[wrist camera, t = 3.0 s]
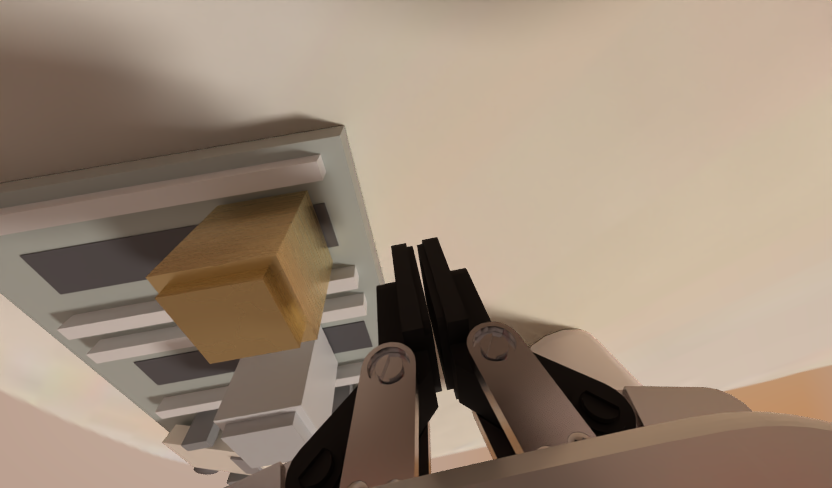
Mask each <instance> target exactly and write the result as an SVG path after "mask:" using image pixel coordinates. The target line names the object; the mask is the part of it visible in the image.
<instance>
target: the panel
mask: <svg viewBox="0 0 832 488" xmlns="http://www.w3.org/2000/svg"><path fill="white" fill-rule="evenodd" d="M306 190H307V191H308V194H309V196H310V199H311V202H312V205H313V208H314V210H315V213H316V216H317V219H318V221H319V224H320V227H321V230H322V232H323V235H324V238H325V241H326V243H327V246H328V249H329V252H330V254H331V257H332V260H333V265H332V270H331V275H330V280H329V284H328V289H327V294H326V299H325V304H324V309H323V314H322V319H321V324H320V325H321V327H322V329H323V331H324V334H325V336H326V338H327V340H328V342H329V344H330V347H331V349H332V351H333V353H334V355H335V358H336V360H337V362H338V366H337V374H336V382H335V390H334V398H333V407H332V413H333V412H334V411H335V410H336V409H337V408H338V407H339V406H340V405H341V403H342V402H343V401H344V400H345V399H346V398H347V397H348V396H349V395H350V393H351V392H352V391H353V390H354V389H355V388H356V387H357V386H358V383H359V378H360V372H361V367H362V364H363V361H364V359H365V357H366V356H367V355H368V353H369V352H370V351H372V350H373V349H374V348H375V347H377V346H378V322H377V297H376V286H377V285H382V284H385V282H384V278H383V274H382V271H381V267H380V263H379V259H378V255H377V251H376V247H375V243H374V239H373V235H372V231H371V228H370V224H369V220H368V216H367V212H366V208H365V204H364V200H363V196H362V192H361V189H360V185H359V181H358V177H357V173H356V169H355V165H354V161H353V157H352V153H351V150H350V146H349V142H348V138H347V134H346V130H345V126H344V125H343V126H337V127H331V128H325V129H319V130H313V131H307V132H301V133H295V134H289V135H283V136H278V137H272V138H266V139H260V140H254V141H248V142H242V143H236V144H230V145H224V146H218V147H212V148H206V149H201V150H195V151H189V152H183V153H177V154H171V155H165V156H159V157H153V158H147V159H141V160H135V161H129V162H124V163H118V164H112V165H106V166H100V167H94V168H88V169H82V170H76V171H70V172H64V173H58V174H52V175H47V176H41V177H35V178H29V179H23V180H17V181H11V182H5V183H0V293H1V294H2V295H3V296H5V297H6V298H7V299H8V300H9V301H11V302H12V303H13V304H14V305H15V306H17V307H18V308H19V309H20V310H22V311H23V312H24V313H25V314H26V315H28V316H29V317H30V318H31V319H32V320H34V321H35V322H36V323H37V324H39V325H40V326H41V327H42V328H43V329H45V330H46V331H47V332H48V333H49V334H51V335H52V336H53V337H54V338H56V339H57V340H58V341H59V342H60V343H62V344H63V345H64V346H65V347H66V348H68V349H69V350H70V351H71V352H73V353H74V354H75V355H76V356H77V357H79V358H80V359H81V360H82V361H83V362H85V363H86V364H87V365H88V366H90V367H91V368H92V369H93V370H94V371H96V372H97V373H98V374H99V375H101V376H102V377H103V378H104V379H105V380H107V381H108V382H109V383H110V384H111V385H113V386H114V387H115V388H116V389H118V390H119V391H120V392H121V393H122V394H124V395H125V396H126V397H127V398H128V399H130V400H131V401H132V402H133V403H135V404H136V405H137V406H138V407H139V408H141V409H142V410H143V411H144V412H145V413H147V414H148V415H149V416H150V417H152V418H153V419H154V420H155V421H156V422H158V423H159V424H160V425H161V426H162V427H164V428H165V429H166V430H167V431H169V432H171V430H172V429H173V428H174V426H175V425H176V424H177V425H186V426H190V428H189V430H188V432H187V434H186V436H185V438H184V440H183V442H182V444H181V446H182V447H183V448H184V449H185V450H187V451H192V450H198V449H203V448H209V447H213V445H214V442H215V440H216V437H217V435H218V432H219V430H220V428H219V427H218V426H217V425H216V424H215V423H214V422H213V420H214V418H215V415H216V413H217V411H218V409H219V406H220V404H221V402H222V399H223V397H224V395H225V393H226V390H227V388H228V386H229V383H230V381H231V379H232V377H233V374H234V372H235V370H236V367H237V365H238V363H239V361H240V359H235V360H229V361H224V362H218V363H213V364H210V363H209V362H208V361H207V360H206V359H205V358H204V356H203V355H202V354H201V353H200V352H199V350H198V349H197V348H196V347H195V346H194V345H193V343H192V342H191V341H190V340H189V339H188V337H187V336H186V335H185V334H184V333H183V331H182V330H181V329H180V328H179V327H178V326H177V324H176V323H175V322H174V321H173V320H172V318H171V317H170V316H169V315H168V314H167V313H166V311H165V310H164V309H163V308H162V307H161V305H160V304H159V303H158V302H157V301H156V299H155V297H156V296H157V295H158V294H159V293H158V292H157V291H156V290H155V289H154V287H153V286H152V285H151V284H150V282H149V281H148V280H147V279H146V278H145V277H146V276H147V275H148V274H149V273H150V272H151V271H152V270H153V269H154V268H155V267H156V266H157V265H158V264H159V263H160V262H161V261H162V260H163V259H164V258H165V257H166V256H167V255H168V254H169V253H170V252H171V251H172V250H173V249H174V248H175V247H176V246H177V245H179V244H180V243H181V242H182V241H183V240H184V239H185V238H186V237H187V236H188V235H189V234H190V233H191V232H192V231H193V230H194V229H195V228H196V227H197V226H198V225H199V224H200V223H201V222H202V221H203V220H204V219H205V218H206V217H207V216H208V215H209V214H210V213H211V212H212V211H213V210H214V209H215V208H216V207H217V206H219V205H225V204H230V203H236V202H242V201H248V200H254V199H259V198H265V197H271V196H277V195H283V194H289V193H294V192H300V191H306ZM194 471H196V472H197V473H200V474H214V473H217V472H218V471H217V470H210V469H204V468H197V467H194ZM248 476H250V475H245V474H238V473H231V472H230V475H229V478H228V480H227V484H229V485H231V484H233V483H235V482H237V481H239V480H241V479H244V478H246V477H248Z"/></svg>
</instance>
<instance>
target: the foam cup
mask: <svg viewBox="0 0 832 488" xmlns="http://www.w3.org/2000/svg"><path fill="white" fill-rule="evenodd" d="M530 350H531V351H532V352H534V353H536V354H538V355H541V356H543V357H545V358H548V359H550V360H552V361H554V362H557V363H559V364H561V365H564V366H566V367H568V368H571V369H573V370H575V371H577V372H580V373H582V374H584V375H587V376H589V377H591V378H593V379H596V380H598V381H600V382H603V383H605V384H607V385H609V386H610V387H612V388H614V389H616V390H623V388H624V386H643V385H642V384H641V383H640V382H639V381H638V380H637V379H636V378H635V377H634V376H633V375H632V374H631V373H630V372H629V371H628V370H627V369H626V368H625V367H624V366H623V365H622V364H621V363H620V362H619V361H618V360H617V359H616V358H615V357H614V356H613V355H612V354H611V353H610V352H609V351H608V350H607V349H606V348H605V347H604V346H603V345H602V344H601V343H600V342H599V341H598V340H597V339H595V338H594V337H593V335H592V334H591V333H589V332H586V331H583V330H581V329H570V330H561V331H558V332H555V333H553V334H550V335H547V336H545V337H543V338H542V339H541V340H539V341H538V342H536V343H535V344H533V345H532V346H531V348H530Z"/></svg>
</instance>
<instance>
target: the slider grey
mask: <svg viewBox="0 0 832 488" xmlns="http://www.w3.org/2000/svg"><path fill="white" fill-rule="evenodd" d="M337 366H338V362H337V360H336V358H335V355H334V353H333V351H332V349H331V347H330V344H329V342H328V340H327V338H326V336H325V334H324V331H323V329H322V327H321V325H320V329H319V334H318V339H317V340H312V341H306V342H301V345H300V348H296V349H291V350H285V351H279V352H274V353H268V354H263V355H257V356H252V357H246V358H241V359H240V361H239V363H238V365H237V367H236V370H235V372H234V374H233V377H232V379H231V381H230V383H229V386H228V388H227V390H226V393H225V395H224V397H223V399H222V402H221V404H220V406H219V409H218V411H217V413H216V415H215V418H214V420H213V422H214V423H215V424H216V425H217V426H218V427H219V428H220V429H221V430H222V431H223V433H222V436H221V439H222V440H223V441H224V442H225V443H226V444H227V445H228V446H229V447H230V448H231V449H232V450H233V451H234V452H235V453H236V454H237V455H238V456H239V457H241V458H242V459H243V460H244V461H245V462H246V463H247V464H248V465H249V466H250V467H251V468H258V467H263V466H268V465H273V464H275V463H278V462H280V461H281V463H284V462H289V461H291V460H293V458H294V457H295V456H296V454H297V453H298V451H299V450H300V449H301V448H302V447H303V446H304V445H305V443H306V442H307V441H308V440H309V439H310V438H311V437H312V436H313V435H314V433H315V432H316V431H317V430H318V429H319V428H320V427H321V426H322V425H323V423H324V422H325V421H326V420H327V419H328V418H329V417H330V416H331V415H332V407H333V398H334V390H335V382H336V374H337Z"/></svg>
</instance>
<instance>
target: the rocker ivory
mask: <svg viewBox="0 0 832 488" xmlns="http://www.w3.org/2000/svg"><path fill="white" fill-rule="evenodd" d="M189 428H190V426H186V425H177V424H176V425H175V426H174V428H173V429H172V430H171V432H170V433H169V434H168V436H167V437H166V438H165V440H164V441H163V442H162V443H163V444H164V445H166V446H167V447H168V448H170V449H171V450H172V451H173V452H175V453H176V454H177V455H179V456H180V457H181V458H183V459H184V460H185V461H186V462H188V463H189V464H190V465H192V466H193V467H197V468H204V469H210V470H217V471H224V472H231V473H238V474H245V475H252V474H254V473H256V472H258V471H261V470H263V469H265V468H267V467H269V466H271V465H268V466H263V467H258V468H251V467H250V466H249V465H248V464H247V463H246V462H245V461H244V460H243V459H242V458H241V457H239V456H238V455H237V454H236V453H235V452H234V451H233V450H232V449H231V448H230V447H229V446H228V445H227V444H226V443H225V442H224V441H223V440H222V439H221V436H222V433H223V431H222V430H221V429H220V430H219V432H218V435H217V437H216V440H215V442H214V445H213V447H209V448H203V449H198V450H192V451H187V450H185V449H184V448H183V447H182V446H181V444H182V442H183V440H184V438H185V436H186V434H187V432H188V430H189Z"/></svg>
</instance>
